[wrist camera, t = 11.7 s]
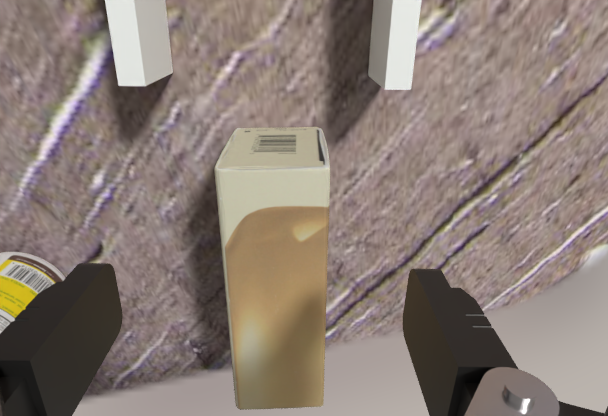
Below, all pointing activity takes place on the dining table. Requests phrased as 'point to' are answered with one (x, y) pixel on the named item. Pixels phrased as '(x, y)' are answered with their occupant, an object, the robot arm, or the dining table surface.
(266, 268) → the skincare box
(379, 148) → the dining table surface
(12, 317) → the supplement bottle
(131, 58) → the twin rod panel frame
